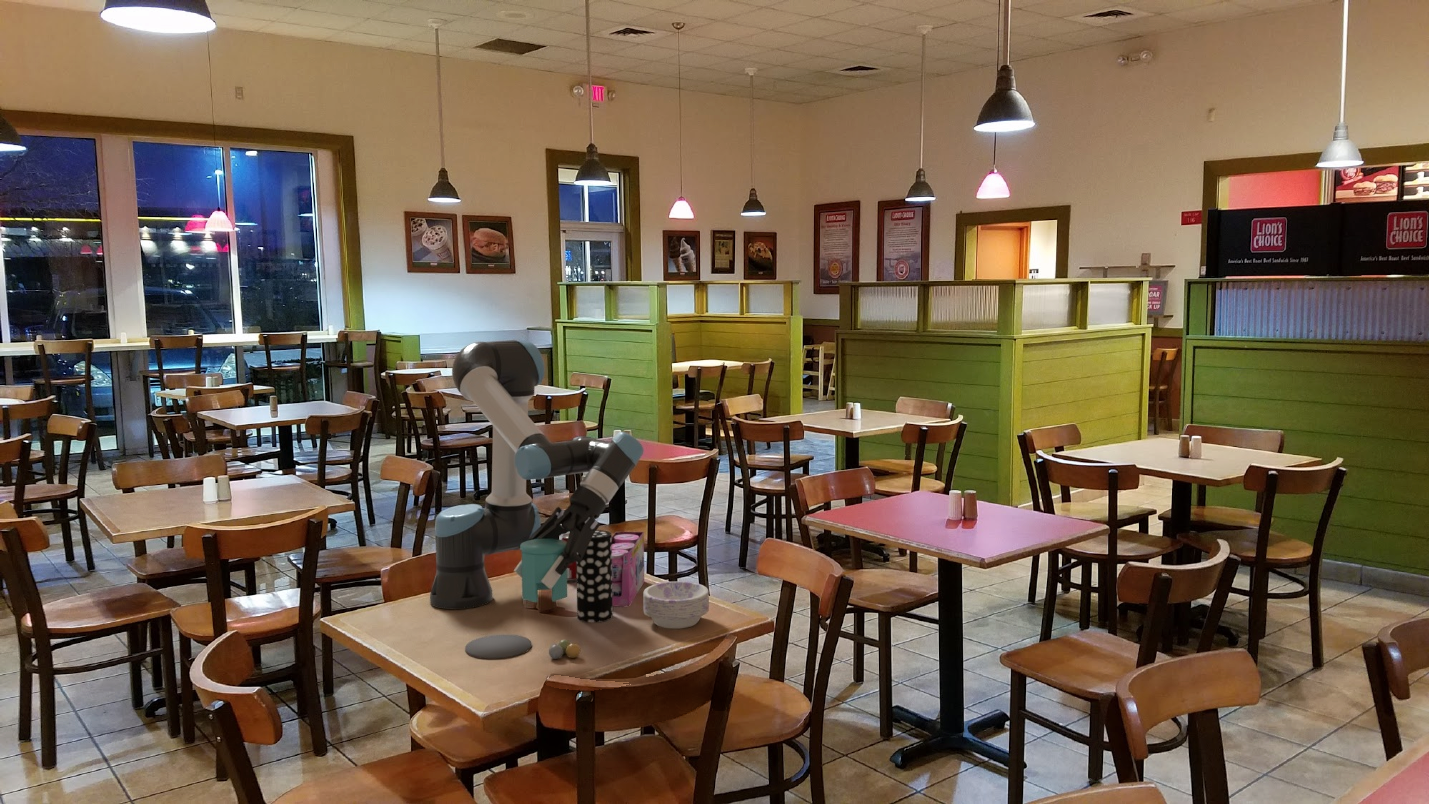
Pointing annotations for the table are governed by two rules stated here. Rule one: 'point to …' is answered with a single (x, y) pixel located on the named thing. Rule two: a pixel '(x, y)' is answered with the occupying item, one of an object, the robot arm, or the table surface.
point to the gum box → (627, 566)
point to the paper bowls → (676, 603)
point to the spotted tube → (595, 579)
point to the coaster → (498, 646)
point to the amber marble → (573, 650)
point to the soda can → (572, 567)
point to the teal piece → (541, 568)
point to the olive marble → (564, 645)
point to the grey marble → (555, 651)
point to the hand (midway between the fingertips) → (532, 579)
